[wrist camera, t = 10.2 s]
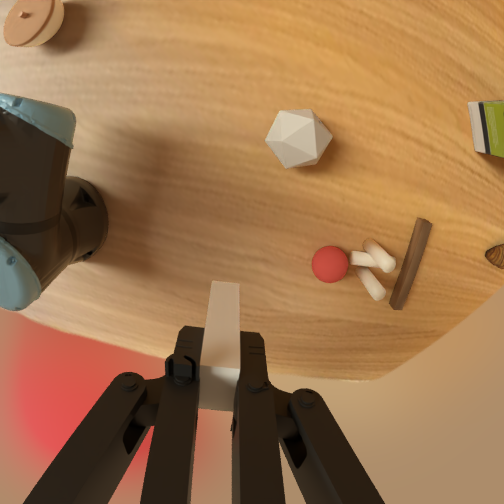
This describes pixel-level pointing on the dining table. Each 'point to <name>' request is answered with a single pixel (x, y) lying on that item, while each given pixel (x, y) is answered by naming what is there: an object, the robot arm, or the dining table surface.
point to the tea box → (488, 126)
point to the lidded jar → (33, 22)
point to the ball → (329, 264)
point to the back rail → (410, 263)
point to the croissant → (496, 256)
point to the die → (298, 138)
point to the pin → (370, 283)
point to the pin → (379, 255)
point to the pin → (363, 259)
